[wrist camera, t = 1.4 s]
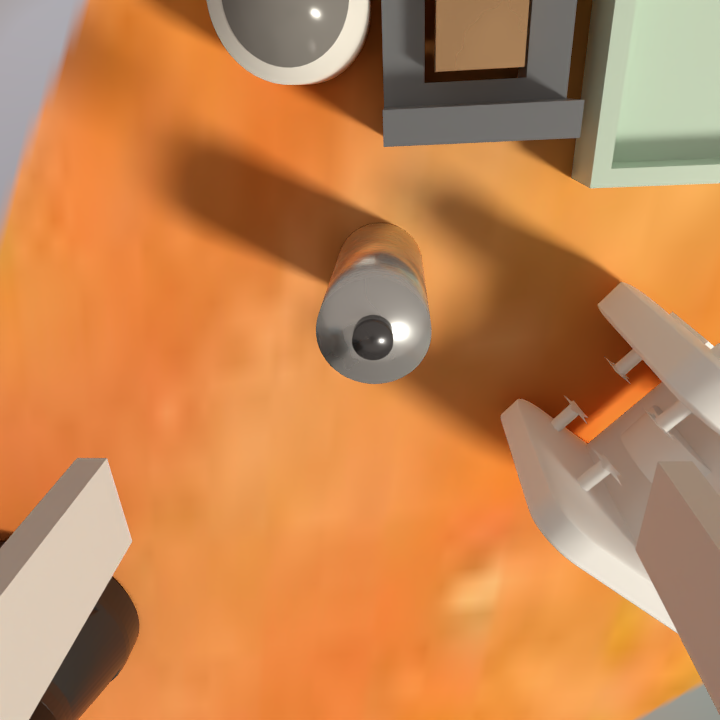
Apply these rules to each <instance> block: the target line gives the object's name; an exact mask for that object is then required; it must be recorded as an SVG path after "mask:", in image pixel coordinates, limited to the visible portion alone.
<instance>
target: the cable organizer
mask: <svg viewBox="0 0 720 720" xmlns="http://www.w3.org/2000/svg"><path fill="white" fill-rule="evenodd" d="M598 308H599V310H600V311H601V313H602V314H603V315H604V317H605V318H606V319H607V320H608V321H609V322H610V324H611V325H612V326H613V327H614V328H615V329H616V330H617V331H618V333H619V334H620V335H621V336H622V337H623V338H624V339H625V340H626V342H627V343H628V344H629V345H630V346H631V347H632V348H633V349H632V350H631V351H630V352H629V353H628V354H626V355H625V356H624V357H623V358H622V359H621V360H620V361H618V362H617V363H616V364H615V363H612V362H610V361H609V360H608V359H607V358H606V357H605V356H604V357H605V358H606V359H607V361H608V362H609V363H610V365H611V366H612V367H613V369H614V370H615V372H616V373H618V374H619V375H620V376H621V377H622V378H624V379H625V380H626V381H627V382H629V381H628V380H627V378H628V377H627V376H626V374H627V373H628V372H629V371H630V370H631V369H632V368H634V367H635V366H636V365H637V364H638V363H639V362H641V361H642V360H643V361H644V362H645V363H646V364H647V365H648V366H649V367H650V369H651V370H652V371H653V372H654V373H655V374H656V375H657V376H658V377H659V379H660V380H661V381H662V382H661V383H660V384H659V385H657V386H656V387H655V388H654V389H653V390H651V391H650V392H649V393H648V394H647V395H645V396H644V397H643V398H642V399H641V400H639V401H638V402H637V403H636V404H635V405H633V406H632V407H631V408H630V409H629V410H627V411H626V412H625V413H624V414H623V415H621V416H620V417H619V418H618V419H617V420H615V421H614V422H613V423H612V424H611V425H609V426H608V427H607V428H606V429H605V430H603V431H602V432H601V433H600V434H598V435H597V436H596V437H595V438H594V439H592V440H591V441H590V442H589V443H588V444H587V443H586V442H584V441H583V440H582V439H580V438H579V437H578V436H576V435H575V434H574V433H572V432H571V431H570V430H568V429H567V428H566V427H565V426H567V425H568V424H569V423H570V422H571V421H572V420H574V419H575V418H576V417H577V416H578V415H580V417H581V418H582V419H583V420H584V421H585V418H584V417H586V418H588V417H587V416H586V415H585V414H584V412H583V411H582V410H581V409H580V408H579V407H578V405H577V404H576V403H575V401H571V400H569V399H568V398H567V397H566V396H565V398H566V399H567V400H568V402H569V403H570V405H569V406H568V407H566V408H565V409H564V410H563V411H562V412H561V413H560V414H558V415H557V416H556V417H555V418H552V417H551V416H549V415H548V414H547V413H545V412H544V411H543V410H541V409H540V408H539V407H537V406H536V405H534V404H532V403H531V402H529V401H526V400H524V399H517V400H516V401H515V402H514V403H513V404H512V405H511V406H510V407H509V408H508V409H506V410H505V411H504V412H503V413H502V414H501V421H502V425H503V428H504V431H505V434H506V438H507V441H508V444H509V447H510V451H511V454H512V457H513V460H514V463H515V467H516V470H517V473H518V476H519V480H520V483H521V486H522V489H523V492H524V496H525V499H526V502H527V505H528V509H529V511H530V514H531V516H532V518H533V520H534V522H535V524H536V525H537V527H538V528H539V529H540V531H541V532H542V534H543V535H544V536H545V537H546V538H547V540H548V541H549V542H550V543H551V544H552V545H553V546H554V547H555V548H556V549H557V550H558V551H559V552H560V553H561V554H562V555H563V556H564V557H566V558H567V559H568V560H569V561H571V562H572V563H573V564H575V565H576V566H578V567H579V568H581V569H582V570H584V571H585V572H587V573H588V574H590V575H591V576H593V577H594V578H596V579H597V580H599V581H600V582H602V583H603V584H605V585H606V586H608V587H609V588H611V589H612V590H614V591H615V592H617V593H618V594H620V595H621V596H623V597H624V598H626V599H627V600H629V601H630V602H632V603H633V604H635V605H636V606H638V607H639V608H640V609H642V610H643V611H645V612H646V613H648V614H649V615H651V616H652V617H654V618H655V619H657V620H658V621H660V622H661V623H663V624H664V625H666V626H667V627H669V628H670V629H672V630H673V631H675V632H676V633H678V632H677V630H676V628H675V626H674V624H673V622H672V620H671V619H670V617H669V615H668V613H667V611H666V609H665V607H664V605H663V603H662V601H661V599H660V597H659V595H658V593H657V591H656V589H655V587H654V585H653V583H652V581H651V579H650V577H649V575H648V574H647V572H646V570H645V568H644V566H643V564H642V562H641V560H640V558H639V556H638V554H637V552H636V550H635V549H636V545H637V541H638V537H639V533H640V529H641V525H642V521H643V518H644V514H645V510H646V506H647V502H648V498H649V494H650V490H651V486H652V482H653V478H654V474H655V470H656V466H657V462H658V461H693V463H694V464H695V465H696V467H697V468H698V469H699V470H700V472H701V473H702V474H703V476H704V477H705V478H706V479H707V481H708V482H709V483H710V485H711V486H712V487H713V488H714V490H715V491H716V492H717V493H718V495H719V496H720V343H718V344H717V345H716V346H713V345H712V344H711V343H710V342H708V341H707V340H706V339H705V338H704V337H702V336H701V335H700V334H699V333H698V332H696V331H695V330H694V329H693V328H691V327H690V326H689V325H688V324H687V323H685V322H684V321H683V320H682V319H681V318H679V317H678V316H677V315H676V314H675V313H673V312H672V313H671V314H669V313H667V312H666V311H665V310H664V309H663V308H661V307H660V306H659V305H658V304H657V303H655V302H654V301H653V300H652V299H650V298H649V297H648V296H646V295H645V294H644V293H642V292H641V291H639V290H638V289H636V288H635V287H633V286H631V285H629V284H627V283H624V282H620V283H619V284H618V285H617V286H616V287H615V288H614V289H613V290H612V291H611V292H610V293H609V294H608V295H607V296H606V297H605V298H604V299H603V300H602V301H601V302H599V303H598ZM628 379H629V378H628ZM629 383H630V382H629ZM585 422H586V421H585ZM586 424H587V423H586Z"/></svg>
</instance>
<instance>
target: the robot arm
mask: <svg viewBox="0 0 720 720" xmlns="http://www.w3.org/2000/svg"><path fill="white" fill-rule="evenodd" d="M131 543H132V539H131V536H130V532H129V529H128V526H127V523H126V519H125V516H124V513H123V509H122V506H121V503H120V500H119V496H118V493H117V490H116V486H115V483H114V480H113V476H112V473H111V470H110V467H109V463H108V460H107V458H77V459H76V460H75V461H74V462H73V464H72V465H71V466H70V467H69V468H68V469H67V471H66V472H65V473H64V474H63V475H62V476H61V478H60V479H59V480H58V481H57V482H56V484H55V485H54V486H53V487H52V488H51V489H50V491H49V492H48V493H47V494H46V495H45V496H44V498H43V499H42V500H41V501H40V502H39V503H38V505H37V506H36V507H35V508H34V509H33V510H32V512H31V513H30V514H29V515H28V516H27V517H26V519H25V520H24V521H23V522H22V523H21V525H20V526H19V527H18V528H17V529H16V530H15V532H14V533H13V534H12V535H11V536H10V537H9V539H8V540H7V541H4V542H0V720H78V719H79V718H80V716H81V715H82V714H83V713H84V712H85V711H86V710H87V709H88V707H89V706H90V705H91V704H92V703H93V702H94V700H95V699H96V698H97V697H98V696H99V695H100V693H101V692H102V691H103V690H104V689H105V687H106V686H107V685H108V684H109V682H111V681H112V680H113V679H114V678H115V677H116V676H117V675H118V674H119V673H120V671H121V670H122V668H123V667H124V665H125V663H126V662H127V659H128V657H129V655H130V653H131V651H132V649H133V647H134V645H135V642H136V640H137V637H138V633H139V619H138V615H137V611H136V609H135V606H134V604H133V602H132V601H131V599H130V597H129V596H128V594H127V593H126V592H125V590H124V589H123V588H122V587H121V586H120V585H119V584H118V583H117V582H116V581H115V580H114V579H113V578H112V575H113V574H114V572H115V570H116V568H117V567H118V565H119V563H120V562H121V560H122V558H123V556H124V555H125V553H126V551H127V549H128V548H129V546H130V544H131ZM635 550H636V552H637V554H638V556H639V558H640V560H641V562H642V564H643V566H644V568H645V570H646V572H647V574H648V575H649V577H650V579H651V581H652V583H653V585H654V587H655V589H656V591H657V593H658V595H659V597H660V599H661V601H662V603H663V605H664V607H665V609H666V611H667V613H668V615H669V617H670V619H671V620H672V622H673V624H674V626H675V628H676V630H677V632H678V634H679V636H680V638H681V640H682V642H683V644H684V646H685V648H686V650H687V652H688V654H689V656H690V658H691V660H692V662H693V664H694V666H695V667H696V669H697V671H698V673H699V675H700V677H701V679H702V681H703V683H704V685H705V687H706V689H707V691H708V693H709V695H710V697H711V699H712V700H713V703H714V705H715V706H716V708H717V710H718V712H719V714H720V496H719V495H718V493H717V492H716V491H715V490H714V488H713V487H712V486H711V485H710V483H709V482H708V481H707V479H706V478H705V477H704V476H703V474H702V473H701V472H700V470H699V469H698V468H697V467H696V465H695V464H694V463H693V461H658V462H657V466H656V470H655V474H654V478H653V482H652V486H651V490H650V494H649V498H648V502H647V506H646V510H645V514H644V518H643V521H642V525H641V529H640V533H639V537H638V541H637V545H636V549H635Z"/></svg>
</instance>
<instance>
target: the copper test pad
mask: <svg viewBox="0 0 720 720" xmlns="http://www.w3.org/2000/svg"><path fill="white" fill-rule="evenodd" d="M528 12H529V0H435V45H434V72H445V71H463V70H481V69H499V68H517V67H524V65H525V52H526V39H527V26H528Z"/></svg>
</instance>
